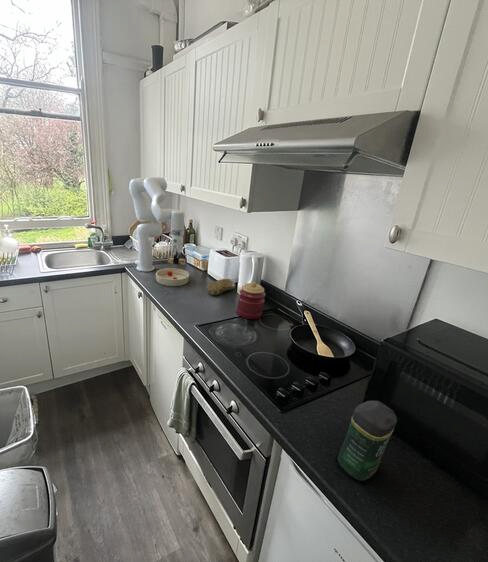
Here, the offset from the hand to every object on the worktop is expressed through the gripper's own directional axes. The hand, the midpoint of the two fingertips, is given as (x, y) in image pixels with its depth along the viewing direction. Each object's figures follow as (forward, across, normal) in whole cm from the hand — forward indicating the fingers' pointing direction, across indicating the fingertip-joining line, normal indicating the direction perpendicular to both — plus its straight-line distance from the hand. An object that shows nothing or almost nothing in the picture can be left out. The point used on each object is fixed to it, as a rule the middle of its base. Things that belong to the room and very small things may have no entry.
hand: (176, 262), depth 177 cm
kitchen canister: (+16, -25, -45) cm, 54 cm away
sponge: (+15, -2, -27) cm, 31 cm away
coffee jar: (+17, -104, -73) cm, 128 cm away
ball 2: (+12, +4, +2) cm, 13 cm away
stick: (0, 0, 0) cm, 0 cm away
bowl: (+14, +8, +4) cm, 17 cm away
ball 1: (+12, +14, +7) cm, 20 cm away
